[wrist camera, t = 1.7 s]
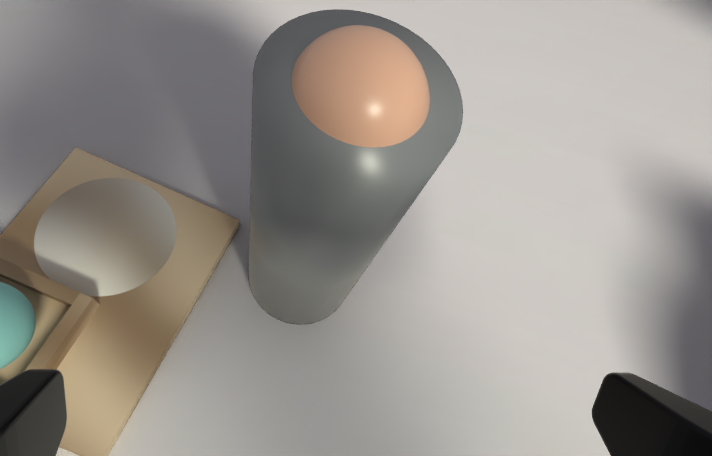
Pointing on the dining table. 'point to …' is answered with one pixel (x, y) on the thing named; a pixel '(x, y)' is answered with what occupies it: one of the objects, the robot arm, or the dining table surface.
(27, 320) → the teal ball
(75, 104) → the dining table surface
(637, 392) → the robot arm
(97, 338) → the tan wooden tray
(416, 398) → the dining table surface
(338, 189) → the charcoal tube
